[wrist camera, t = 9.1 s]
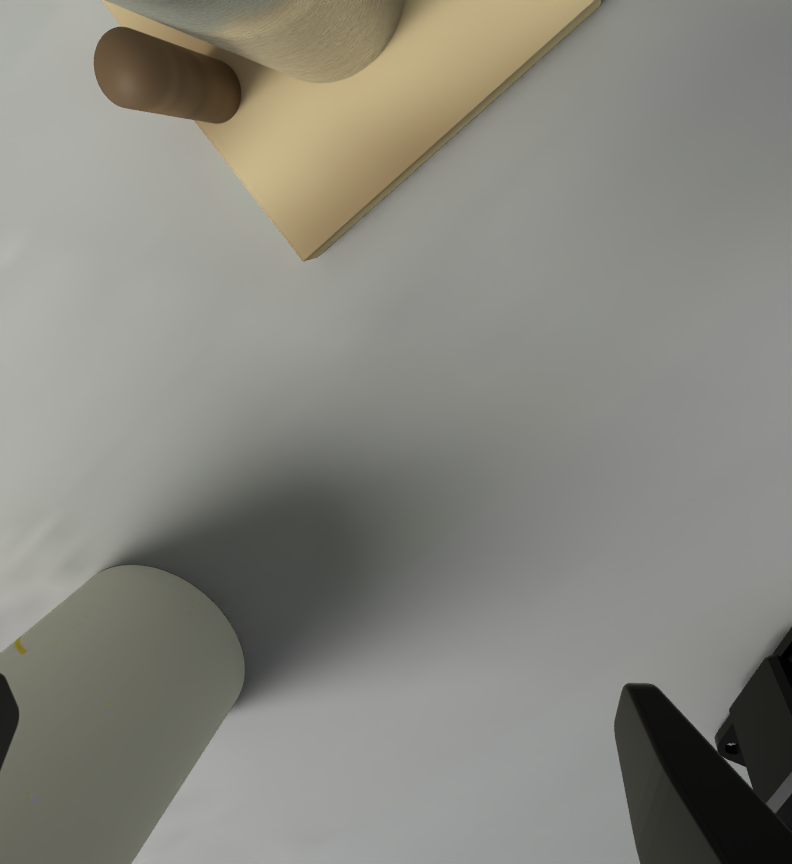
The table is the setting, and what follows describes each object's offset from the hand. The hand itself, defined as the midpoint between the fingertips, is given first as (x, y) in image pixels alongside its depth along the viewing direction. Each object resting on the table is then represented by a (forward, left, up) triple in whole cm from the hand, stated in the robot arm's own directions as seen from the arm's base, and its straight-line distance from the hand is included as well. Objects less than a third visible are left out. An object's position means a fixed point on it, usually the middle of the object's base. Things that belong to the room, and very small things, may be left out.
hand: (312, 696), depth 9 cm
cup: (+9, +15, -13) cm, 21 cm away
